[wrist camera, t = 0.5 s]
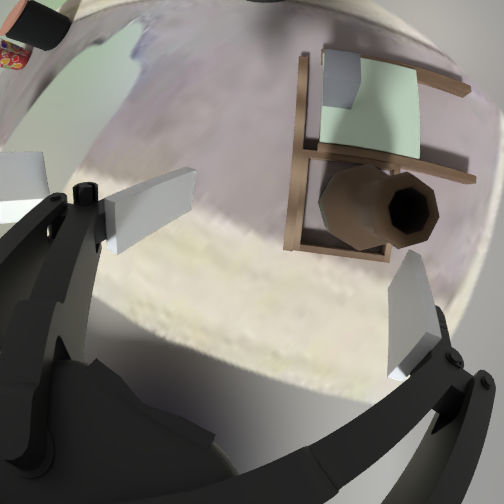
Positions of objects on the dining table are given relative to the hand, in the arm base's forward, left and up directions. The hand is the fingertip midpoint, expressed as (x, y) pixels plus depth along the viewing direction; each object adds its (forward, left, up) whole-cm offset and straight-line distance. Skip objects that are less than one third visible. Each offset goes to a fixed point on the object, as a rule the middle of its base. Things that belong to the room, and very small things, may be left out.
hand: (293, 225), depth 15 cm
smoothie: (-42, -80, -21) cm, 92 cm away
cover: (-15, +7, -18) cm, 25 cm away
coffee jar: (-44, -63, -21) cm, 79 cm away
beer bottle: (-2, +5, -21) cm, 22 cm away
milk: (-2, -58, -21) cm, 61 cm away
